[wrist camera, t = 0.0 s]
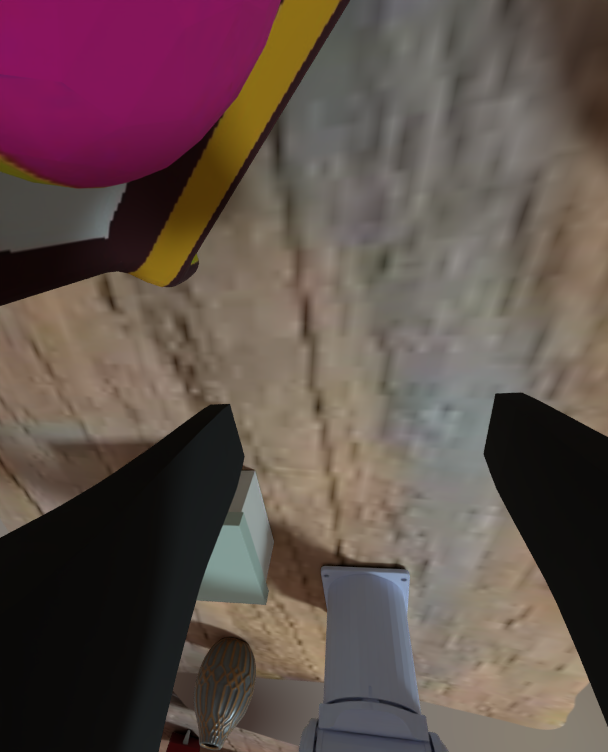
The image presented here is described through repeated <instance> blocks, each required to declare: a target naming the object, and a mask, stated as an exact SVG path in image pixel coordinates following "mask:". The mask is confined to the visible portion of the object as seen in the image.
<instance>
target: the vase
mask: <svg viewBox="0 0 608 752" xmlns="http://www.w3.org/2000/svg"><path fill="white" fill-rule="evenodd" d="M255 678H256V665H255V658H254V655H253V652H252V650H251V648H250V646H249V645H248V644H247V643H246V642H244V641H242V640H239V639H235V638H224V639H221V640H220V641H219V642H217V643H216V644H215V645H214V646H213V647H212V648H211V649H210V650H209V652H208V653H207V655H206V656H205V658H204V660H203V662H202V664H201V667H200V670H199V673H198V676H197V680H196V684H195V692H194V708H195V713H196V718H197V723H198V728H199V744H200V746H202V747H204V748H207V749H210V750H220V749H221V748H222V746H223V744H224V742H225V740H226V738H227V737H228V735H229V734H230V733H231V731H232V730H233V729H234V728H235V727H236V725H237V724H238V723H239V722H240V720H241V719H242V717H243V716H244V714H245V712H246V710H247V708H248V706H249V703H250V701H251V698H252V695H253V690H254V685H255Z"/></svg>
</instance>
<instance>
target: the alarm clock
mask: <svg viewBox="0 0 608 752" xmlns="http://www.w3.org/2000/svg"><path fill="white" fill-rule="evenodd" d="M189 735H190V730H189V729H188V731H187V733H186V735H182V734H178V733H174V732H173V733H172V736H171V739H170V742H169V744H168V747H167V750H166V752H199V751H200V744H199V739H197V738H193V737H190V736H189Z"/></svg>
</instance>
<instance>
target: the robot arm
mask: <svg viewBox="0 0 608 752" xmlns="http://www.w3.org/2000/svg"><path fill="white" fill-rule="evenodd" d="M244 457H245V456H244V453H243V449H242V445H241V442H240V438H239V435H238V431H237V428H236V424H235V421H234V417H233V413H232V410H231V406H230V404H216V405H209V406H208V407H206V408H204V409H203V410H201V411H200V412H198V413H197V414H196V415H194V416H193V417H191V418H190V419H189V420H187V421H186V422H185V423H183V424H182V425H181V426H179V427H178V428H177V429H175V430H174V431H173V432H171V433H170V434H169V435H167V436H166V437H164V438H163V439H162V440H160V441H159V442H158V443H156V444H155V445H154V446H152V447H151V448H150V449H148V450H147V451H145V452H144V453H142V454H141V455H139V456H138V457H137V458H135V459H134V460H132V461H131V462H129V463H128V464H126V465H125V466H123V467H122V468H121V469H119V470H118V471H116V472H115V473H113V474H112V475H110V476H109V477H107V478H106V479H104V480H102V481H101V482H99V483H98V484H96V485H94V486H93V487H91V488H90V489H88V490H86V491H85V492H83V493H81V494H80V495H78V496H76V497H75V498H73V499H71V500H69V501H68V502H66V503H64V504H63V505H61V506H59V507H57V508H56V509H54V510H52V511H50V512H48V513H46V514H44V515H42V516H41V517H39V518H37V519H35V520H33V521H31V522H29V523H27V524H25V525H24V526H22V527H20V528H18V529H16V530H14V531H12V532H10V533H8V534H7V535H5V536H3V537H1V538H0V752H159V747H160V742H161V738H162V733H163V729H164V725H165V720H166V716H167V712H168V708H169V704H170V699H171V695H172V691H173V687H174V682H175V678H176V674H177V670H178V666H179V663H180V659H181V655H182V651H183V647H184V643H185V640H186V636H187V632H188V628H189V624H190V621H191V617H192V614H193V610H194V607H195V603H196V600H197V596H198V593H199V589H200V586H201V583H202V580H203V577H204V574H205V571H206V568H207V565H208V562H209V560H210V557H211V555H212V552H213V550H214V547H215V544H216V542H217V539H218V537H219V534H220V532H221V529H222V526H223V524H224V521H225V519H226V516H227V514H228V511H229V508H230V506H231V503H232V500H233V498H234V495H235V492H236V490H237V486H238V483H239V479H240V475H241V470H242V466H243V462H244ZM484 457H485V459H486V462H487V465H488V468H489V471H490V473H491V476H492V478H493V481H494V484H495V486H496V489H497V491H498V493H499V495H500V497H501V498H502V500H503V502H504V504H505V506H506V508H507V510H508V512H509V514H510V515H511V517H512V519H513V521H514V523H515V525H516V527H517V528H518V530H519V532H520V534H521V536H522V538H523V540H524V541H525V543H526V545H527V547H528V549H529V551H530V552H531V554H532V556H533V558H534V560H535V562H536V564H537V565H538V567H539V569H540V571H541V573H542V575H543V577H544V578H545V580H546V582H547V584H548V586H549V588H550V590H551V592H552V595H553V597H554V599H555V601H556V603H557V605H558V607H559V610H560V612H561V614H562V617H563V619H564V621H565V624H566V626H567V628H568V631H569V633H570V635H571V638H572V640H573V642H574V645H575V647H576V649H577V652H578V654H579V656H580V659H581V661H582V664H583V666H584V669H585V671H586V674H587V676H588V679H589V681H590V683H591V686H592V688H593V691H594V693H595V696H596V698H597V701H598V703H599V706H600V708H601V711H602V713H603V715H604V718H605V721H606V723H607V726H608V437H607V436H605V435H603V434H601V433H599V432H597V431H595V430H593V429H591V428H590V427H588V426H586V425H584V424H582V423H580V422H578V421H576V420H575V419H573V418H571V417H569V416H567V415H565V414H563V413H562V412H560V411H558V410H556V409H554V408H552V407H550V406H548V405H546V404H544V403H543V402H541V401H539V400H537V399H535V398H533V397H530V396H528V395H526V394H524V393H498V394H495V399H494V404H493V409H492V414H491V419H490V424H489V429H488V434H487V439H486V444H485V449H484ZM321 576H322V582H323V588H324V594H325V600H326V606H327V631H326V654H325V677H324V701H323V704H322V703H320V704H319V719H316V718H311V719H310V721H309V724H307V726H306V727H305V728H304V730H303V732H302V736H301V741H300V746H299V752H449V751H448V749H447V747H446V746H445V745H444V744H443V742H442V741H441V740H440V738H439V736H438V735H437V734H436V733H433V732H428V727H427V720H426V716H425V715H421V709H420V702H419V695H418V689H417V682H416V675H415V668H414V662H413V655H412V648H411V641H410V634H409V628H408V621H407V609H408V594H409V579H410V575H409V571H407V570H405V569H387V568H364V567H341V566H323V567H321Z"/></svg>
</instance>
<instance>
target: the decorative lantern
mask: <svg viewBox="0 0 608 752" xmlns="http://www.w3.org/2000/svg"><path fill="white" fill-rule="evenodd" d="M349 1H350V0H0V306H2V305H5V304H8V303H11V302H14V301H18V300H21V299H24V298H27V297H30V296H33V295H37V294H40V293H43V292H46V291H49V290H53V289H56V288H59V287H62V286H65V285H69V284H72V283H75V282H78V281H81V280H84V279H88V278H91V277H94V276H97V275H100V274H104V273H107V272H116V271H119V272H124V273H129V274H131V275H133V276H135V277H137V278H139V279H141V280H143V281H145V282H148V283H151V284H154V285H157V286H160V287H173V286H176V285H178V284H180V283H182V282H184V281H185V280H187V279H188V278H190V277H191V276H192V275H193V274H194V273H195V272H196V270H197V268H198V265H199V260H198V257H197V254H196V253H197V252H198V250H199V248H200V247H201V245H202V243H203V242H204V240H205V238H206V237H207V235H208V233H209V232H210V230H211V228H212V227H213V225H214V224H215V222H216V220H217V219H218V217H219V215H220V214H221V212H222V210H223V209H224V207H225V205H226V204H227V202H228V200H229V199H230V197H231V196H232V194H233V192H234V191H235V189H236V187H237V186H238V184H239V182H240V181H241V179H242V177H243V176H244V174H245V173H246V171H247V169H248V168H249V166H250V164H251V163H252V161H253V159H254V158H255V156H256V154H257V153H258V151H259V149H260V148H261V146H262V145H263V143H264V141H265V140H266V138H267V136H268V135H269V133H270V131H271V130H272V128H273V126H274V125H275V123H276V121H277V120H278V118H279V117H280V115H281V113H282V112H283V110H284V108H285V107H286V105H287V103H288V102H289V100H290V98H291V97H292V95H293V94H294V92H295V90H296V89H297V87H298V85H299V84H300V82H301V80H302V79H303V77H304V75H305V74H306V72H307V70H308V69H309V67H310V66H311V64H312V62H313V61H314V59H315V57H316V56H317V54H318V52H319V51H320V49H321V47H322V46H323V44H324V42H325V41H326V39H327V38H328V36H329V34H330V33H331V31H332V29H333V28H334V26H335V24H336V23H337V21H338V19H339V18H340V16H341V15H342V13H343V11H344V10H345V8H346V6H347V5H348V3H349Z"/></svg>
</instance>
